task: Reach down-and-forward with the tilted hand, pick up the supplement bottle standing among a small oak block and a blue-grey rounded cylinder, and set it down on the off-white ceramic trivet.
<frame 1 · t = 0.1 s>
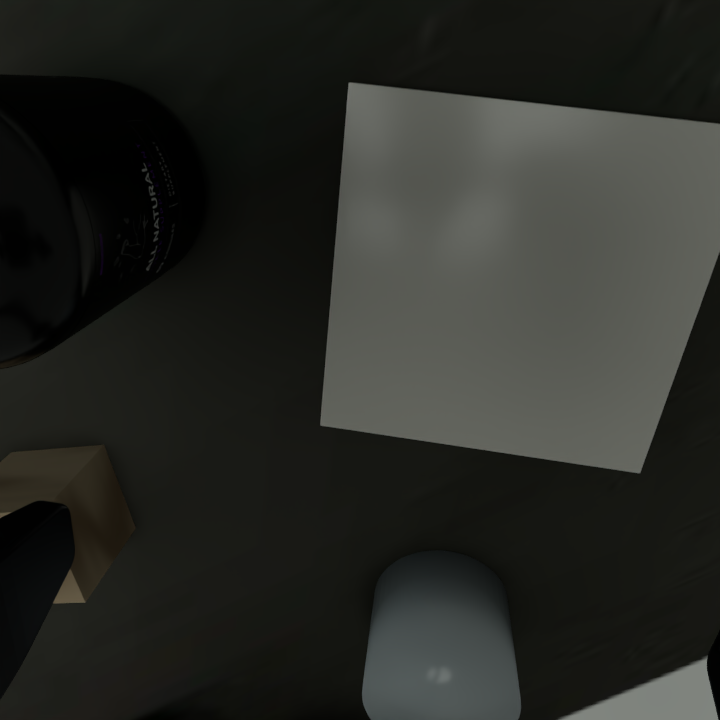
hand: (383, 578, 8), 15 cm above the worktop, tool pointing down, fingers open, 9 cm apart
oak block: (75, 489, 28), on the worktop
supplement bottle: (119, 180, 22), on the worktop
blue-grey rounded cylinder: (440, 601, 28), on the worktop
trivet: (506, 289, 21), on the worktop
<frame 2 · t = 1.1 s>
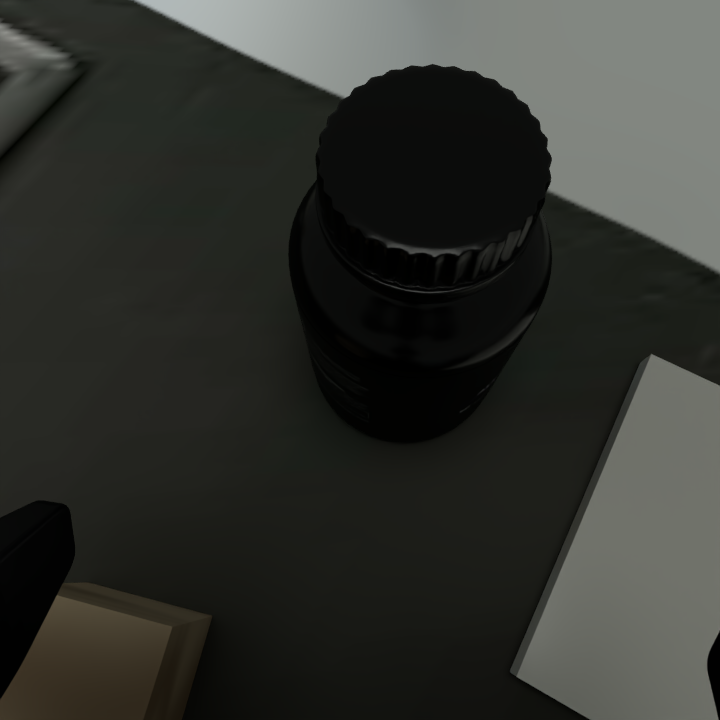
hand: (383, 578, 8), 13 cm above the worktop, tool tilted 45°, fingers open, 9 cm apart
oak block: (127, 669, 20), on the worktop
supplement bottle: (403, 358, 24), on the worktop
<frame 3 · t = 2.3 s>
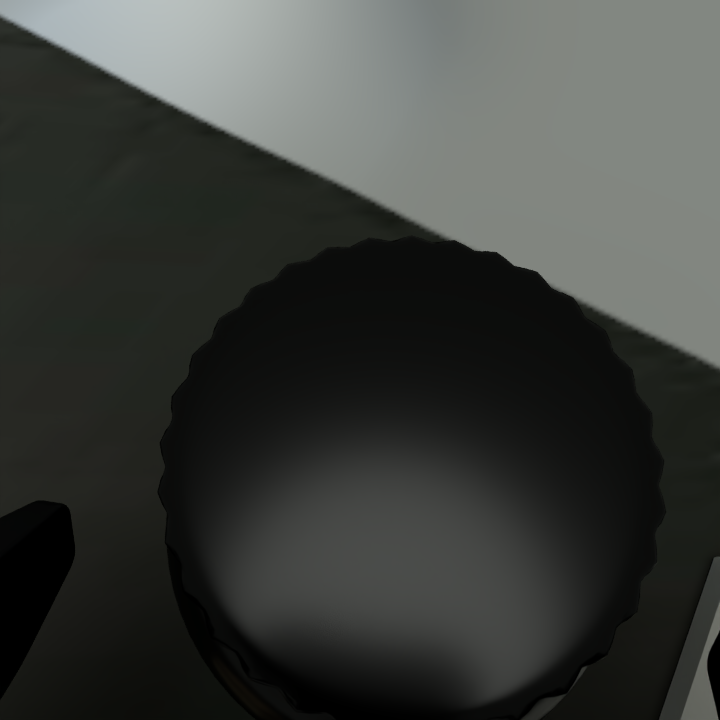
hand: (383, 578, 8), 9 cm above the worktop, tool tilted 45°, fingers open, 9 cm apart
supplement bottle: (382, 544, 17), on the worktop
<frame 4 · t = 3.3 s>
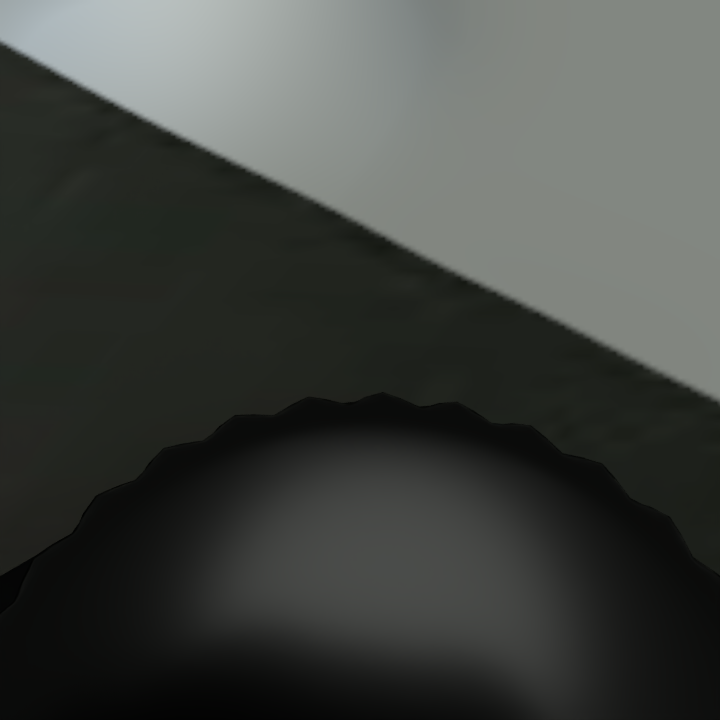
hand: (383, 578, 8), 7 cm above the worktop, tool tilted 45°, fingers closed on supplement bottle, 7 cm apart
supplement bottle: (369, 641, 14), on the worktop, touching gripper
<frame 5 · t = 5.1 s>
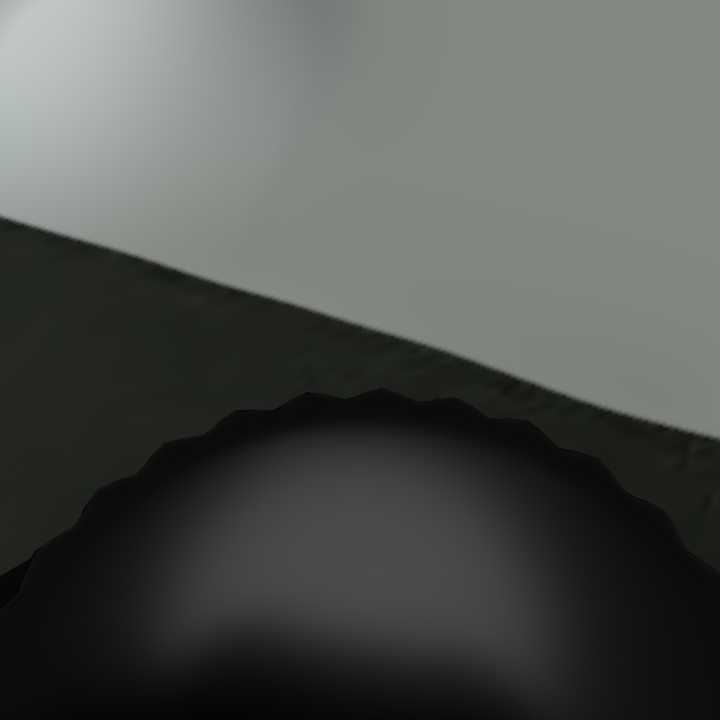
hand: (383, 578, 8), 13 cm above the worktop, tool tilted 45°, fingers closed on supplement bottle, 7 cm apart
supplement bottle: (364, 637, 14), point 6 cm above the worktop, touching gripper
when the fingers open (9 cm above the worktop, at t = 6.9 s): supplement bottle drops 1 cm, resting on trivet.
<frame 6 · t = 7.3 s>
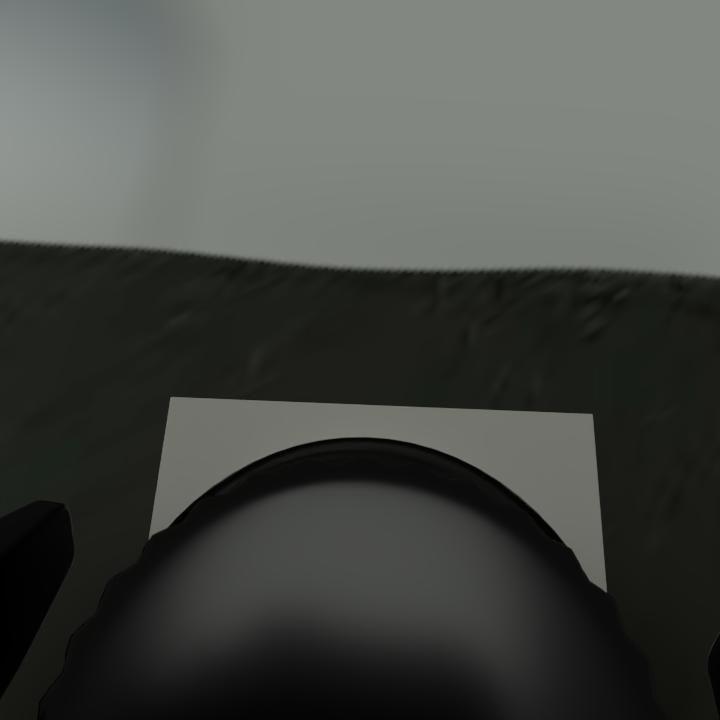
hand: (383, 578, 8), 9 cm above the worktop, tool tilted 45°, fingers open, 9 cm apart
supplement bottle: (364, 640, 16), point 1 cm above the worktop, touching trivet
trivet: (370, 632, 16), on the worktop
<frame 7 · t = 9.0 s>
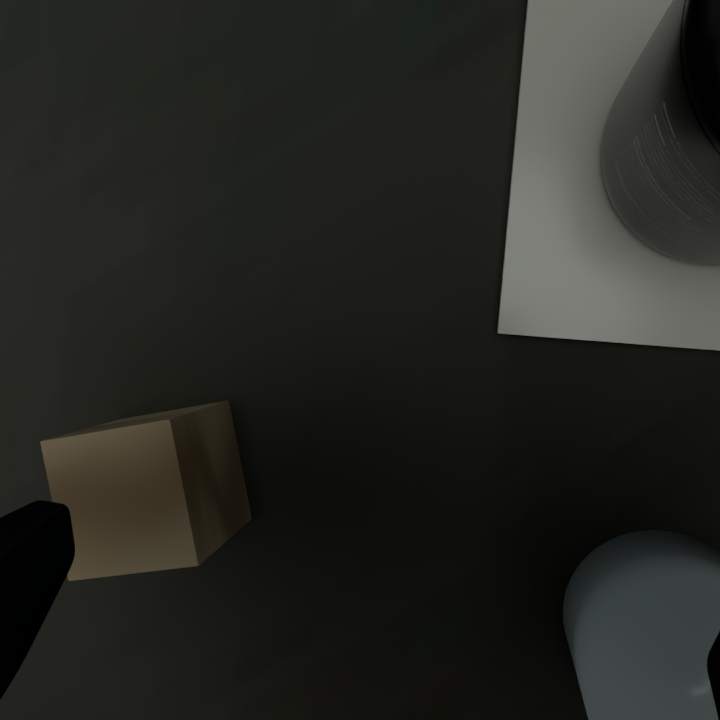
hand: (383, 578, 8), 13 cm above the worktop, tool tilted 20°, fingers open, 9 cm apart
oak block: (186, 467, 23), on the worktop
supplement bottle: (716, 151, 18), point 1 cm above the worktop, touching trivet
blue-grey rounded cylinder: (657, 618, 20), on the worktop
trivet: (712, 154, 19), on the worktop
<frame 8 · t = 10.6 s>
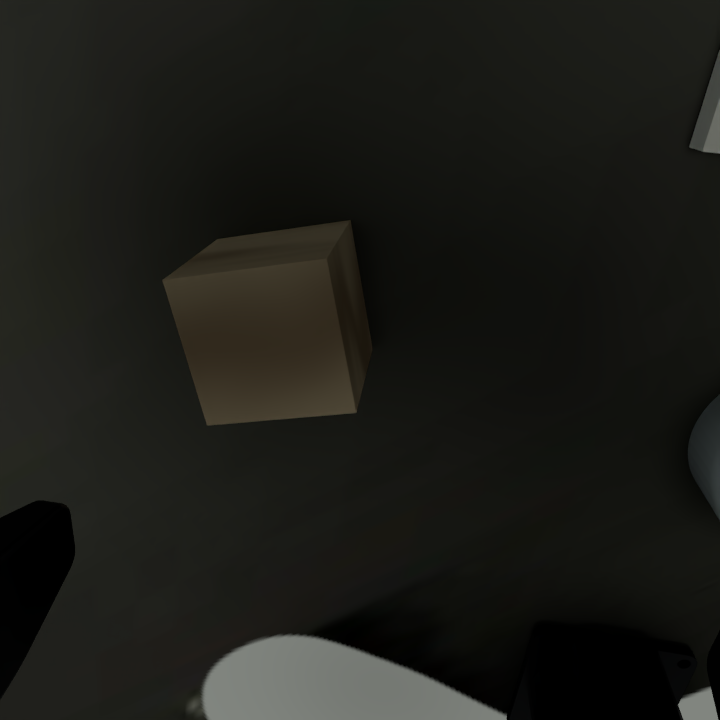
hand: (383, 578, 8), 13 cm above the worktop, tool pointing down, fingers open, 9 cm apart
oak block: (297, 294, 21), on the worktop
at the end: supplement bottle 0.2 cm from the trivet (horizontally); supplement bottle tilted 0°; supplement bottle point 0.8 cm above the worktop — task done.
